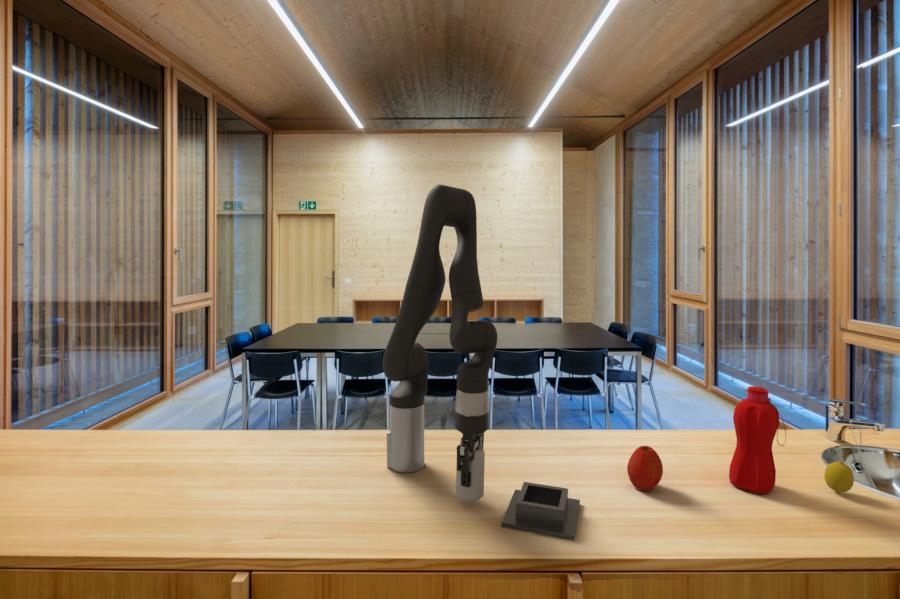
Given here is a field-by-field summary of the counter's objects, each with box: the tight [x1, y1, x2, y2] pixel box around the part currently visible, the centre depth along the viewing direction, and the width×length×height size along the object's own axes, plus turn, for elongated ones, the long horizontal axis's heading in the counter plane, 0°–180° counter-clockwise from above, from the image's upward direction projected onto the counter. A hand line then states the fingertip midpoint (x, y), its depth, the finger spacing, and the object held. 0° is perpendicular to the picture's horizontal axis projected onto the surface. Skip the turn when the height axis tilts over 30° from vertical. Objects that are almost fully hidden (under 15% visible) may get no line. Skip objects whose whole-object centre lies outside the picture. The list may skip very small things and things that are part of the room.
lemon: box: [824, 460, 855, 494], centre depth 118 cm, size 6×6×8 cm
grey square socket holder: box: [500, 481, 581, 541], centre depth 108 cm, size 15×15×4 cm
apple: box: [626, 445, 664, 492], centre depth 120 cm, size 8×8×11 cm
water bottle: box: [728, 385, 787, 495], centre depth 120 cm, size 9×11×25 cm
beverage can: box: [455, 444, 486, 503], centre depth 112 cm, size 6×6×12 cm
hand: (470, 479), depth 112 cm, fingers closed on beverage can, 6 cm apart
